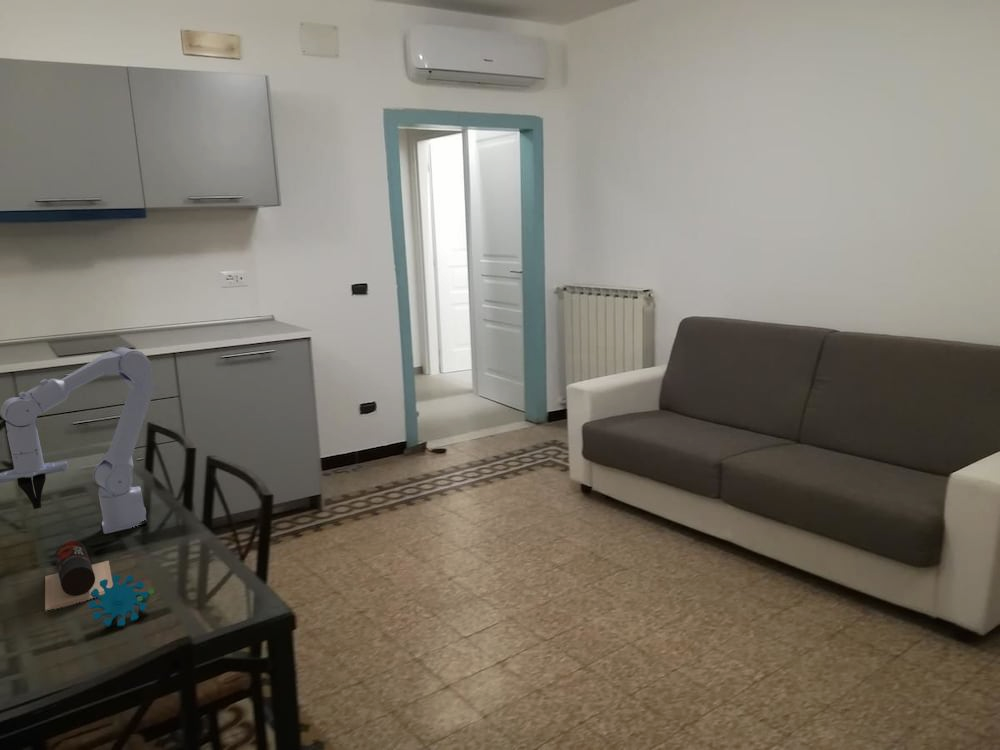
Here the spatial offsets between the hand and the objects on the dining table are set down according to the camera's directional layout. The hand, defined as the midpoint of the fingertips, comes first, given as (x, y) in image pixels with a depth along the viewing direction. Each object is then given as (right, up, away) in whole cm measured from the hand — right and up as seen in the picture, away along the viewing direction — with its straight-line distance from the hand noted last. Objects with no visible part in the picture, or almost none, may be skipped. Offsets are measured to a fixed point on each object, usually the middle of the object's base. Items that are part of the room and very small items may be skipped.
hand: (37, 507), depth 168 cm
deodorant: (+13, -9, -9) cm, 18 cm away
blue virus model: (+34, -16, -28) cm, 47 cm away
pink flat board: (+18, -13, -16) cm, 28 cm away
